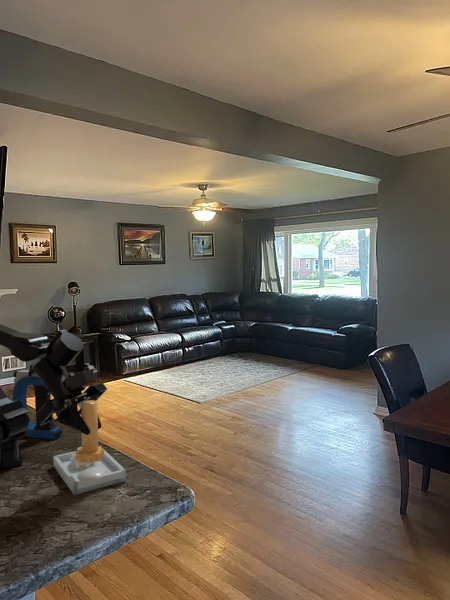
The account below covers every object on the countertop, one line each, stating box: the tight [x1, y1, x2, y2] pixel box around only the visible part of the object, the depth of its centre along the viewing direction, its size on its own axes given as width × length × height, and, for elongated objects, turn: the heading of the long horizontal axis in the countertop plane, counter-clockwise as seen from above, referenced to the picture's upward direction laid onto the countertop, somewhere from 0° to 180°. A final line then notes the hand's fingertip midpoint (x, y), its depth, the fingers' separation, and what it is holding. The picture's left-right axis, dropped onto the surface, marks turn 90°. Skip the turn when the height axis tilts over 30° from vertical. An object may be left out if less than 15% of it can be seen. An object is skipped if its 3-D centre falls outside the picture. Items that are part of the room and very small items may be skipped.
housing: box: [52, 446, 127, 496], centre depth 111 cm, size 18×12×5 cm, turn 34°
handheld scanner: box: [11, 369, 63, 440], centre depth 136 cm, size 5×16×20 cm, turn 79°
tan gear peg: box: [75, 400, 105, 464], centre depth 106 cm, size 6×6×13 cm
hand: (94, 430), depth 105 cm, fingers closed on tan gear peg, 4 cm apart
